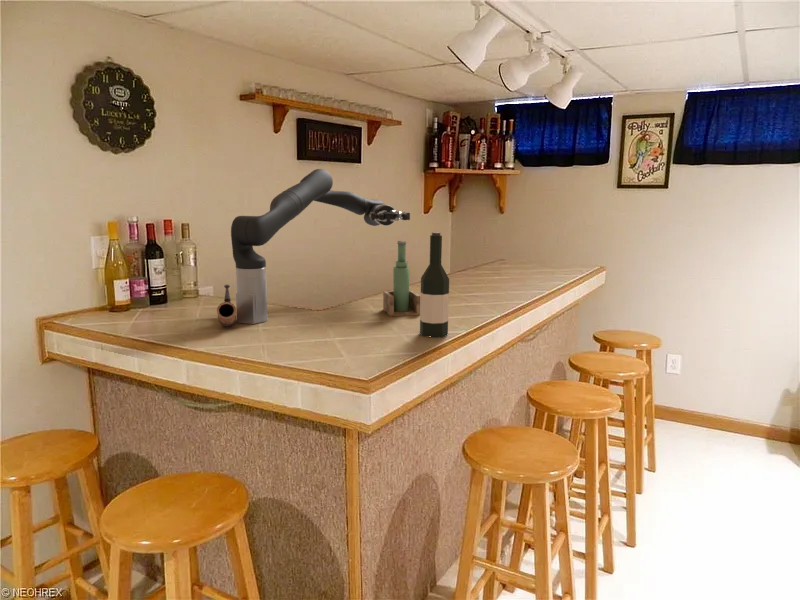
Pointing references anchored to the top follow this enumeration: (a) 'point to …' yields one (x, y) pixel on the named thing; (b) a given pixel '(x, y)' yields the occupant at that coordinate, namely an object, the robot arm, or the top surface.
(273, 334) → the top surface
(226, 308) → the brown tobacco pipe
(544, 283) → the top surface
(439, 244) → the wine bottle
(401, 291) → the slim bottle
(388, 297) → the u rest
